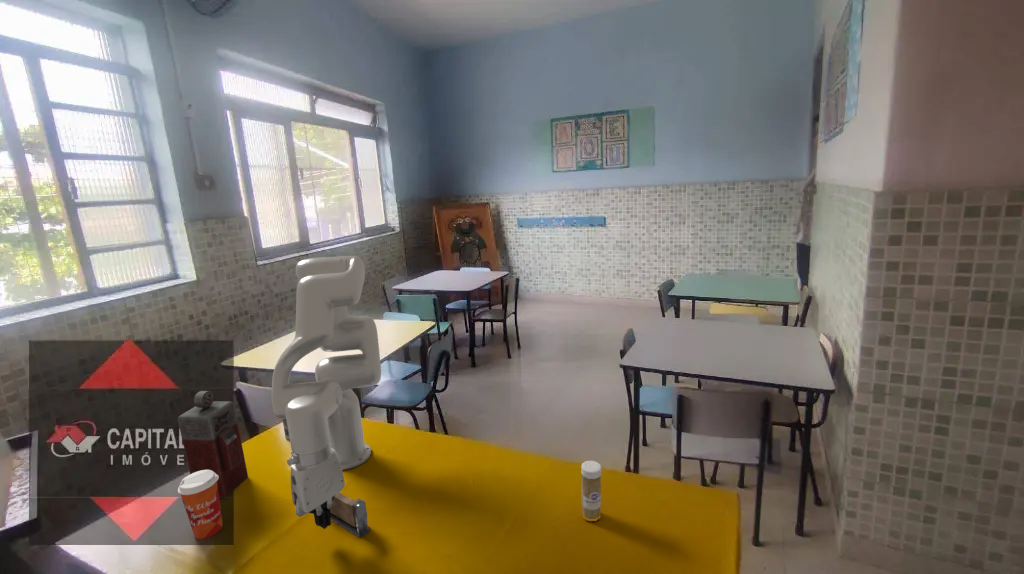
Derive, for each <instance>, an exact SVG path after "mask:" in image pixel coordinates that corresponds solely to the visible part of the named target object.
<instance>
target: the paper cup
mask: <svg viewBox="0 0 1024 574" xmlns="http://www.w3.org/2000/svg"><path fill="white" fill-rule="evenodd" d="M218 478H219V476H218V475H217V474H216V473H215V472H213V471H212V470H201V471H197V472H195V473H192V474H190V473H189V475H187V476H185V477H184V478H183V479H182V480H181V481H180V484H179V486H178V489H177V492H178V494H180V497H181V500H182V503H183V506H184V509H185V512H186V515H187V518H188V521H189V524H190V527H191V530H192V532H193V535H194V537H195V538H196V539H197V540H206V539H209V538H211V537H213V536H215V535H216V534H219V532H220V531H221V530H222V528H223V516H222V509H221V501H220V498H219V493H218V485H217V480H218Z"/></svg>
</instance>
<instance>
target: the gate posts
mask: <svg viewBox="0 0 1024 574" xmlns="http://www.w3.org/2000/svg"><path fill="white" fill-rule="evenodd" d="M355 500H356V501H358V502H356V503H355V504H354V509H355V516H356V524H357V526H356V527H353V526H352V525H350V524H349V523H347V522H345V521H344V520H342V519H340V518H339V517H337V516H335V515H334V514H332V513H331V518H330V519H331V522H334V523H335V524H337V525H339V526H340V527H342V528H343V529H345V530H347V532H350V533H351V534H353V535H354V536H355V537H358V538H361V537H365V536H367V535H368V534H369V533H370V530H371V527H370V526H369V523H368V522H369V521H368V512H367V505H366V504H367V503H366V501H365V500H362V499H361V498H357V499H355Z"/></svg>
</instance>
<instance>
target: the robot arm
mask: <svg viewBox="0 0 1024 574" xmlns="http://www.w3.org/2000/svg"><path fill="white" fill-rule="evenodd" d="M295 274H296V277H297V281H298V283H297V285H296V300H295V303H296V304H295V333H294V334H295V336H294V339H293V340H292V342H291V343H290V344H289V345H288V346H287V347H286V348H285V349H284V351H283V352H282V353H281V355H280V357H279V358H278V360H277V362H276V364H275V366H274V369H273V373H272V379H271V408H272V412H273V414H274V415H275V416H276V418H277V417H278V418H279V419H286V421H287V426H288V432H289V438H290V439H289V442H290V443H289V444H290V449H291V452H290V454H291V457H289V459H287V460H286V464H287V465H288V466H289V467H290V493H291V498H292V503H293V505H294V506H295V515H296V516H298V517H303V516H305V515H308V514H312V515H313V517H314V519H313V520H314V524H315V525H316V526H317V527H321V528H322V529H324V530H325V529H327V528H328V527H330V526H331V525H332V520H331V519H330V518H331V512H330V508H331V507H332V501H333V499H334V497H335V495H336V494H337V493H341V491H342V490H344V488H345V485H346V482H345V477H344V472H343V471H344V470H350V469H353V468H356V467H358V466H360V465H362V464H363V463H366V462H367V460H368V459H369V458H370V456H371V454H372V450H371V446H370V445H369V444H367V443H365V438H364V430H363V422H362V415H361V407H360V401H359V398H358V395H357V394H356V393H355V392H354V390H353V389H358V388H359V389H360V388H361V389H362V388H368V387H373V386H375V385H377V384H379V383H380V380H381V378H382V377H381V376H382V365H381V356H380V347H379V344H380V343H379V336H378V329H377V328H378V327H377V324H376V322H375V320H374V319H373V317H371V316H369V315H356V316H355V315H353V316H349V314H348V313H349V312H348V307H351V306H355V305H357V304H358V303H359V301H360V300H361V295H362V292H363V287H364V284H365V283H364V282H365V279H366V267H365V263H364V261H363V259H362V258H361V257H360V256H357V255H339V256H324V257H323V256H321V257H310V258H305V259H302V260H301V261H300V260H299V261H298V262H297V263H296V265H295ZM317 349H320V350H321V351H323V352H325V353H338V352H348V351H357V350H358V351H360V352H362V353H356V354H354V353H353V354H345V355H344V354H343V355H337V356H336V355H335V356H334V355H333V356H329V357H326V358H323V359H321V360H320V361H319V362H318V363H317V364H316V367H315V370H314V376H315V380H316V381H306V382H298V383H290V377H291V372H292V370H293V368H294V367H296V365H297V363H299V361H300V360H302V359H303V358H304V357H305V356H308V355H309V354H310V353H312V352H314V351H316V350H317Z"/></svg>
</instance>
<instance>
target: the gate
mask: <svg viewBox="0 0 1024 574" xmlns="http://www.w3.org/2000/svg"><path fill="white" fill-rule="evenodd" d="M356 500H357V499H354V498H353V499H352V498H350V497H348V496H347V495H345V494H343V493H341V492H339V493H337V494H336V495H335V497H334V499H333V501H332V507H331V508H330V512H331V513H332V514H334V515H335V516H337V517H339V518H340V519H342V520H344V521H345V522H347V523H349V524H350V525H352V526H353V527H356V526H357V524H356V516H355V509H354V504H355V503H356V502H358V501H356Z"/></svg>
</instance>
